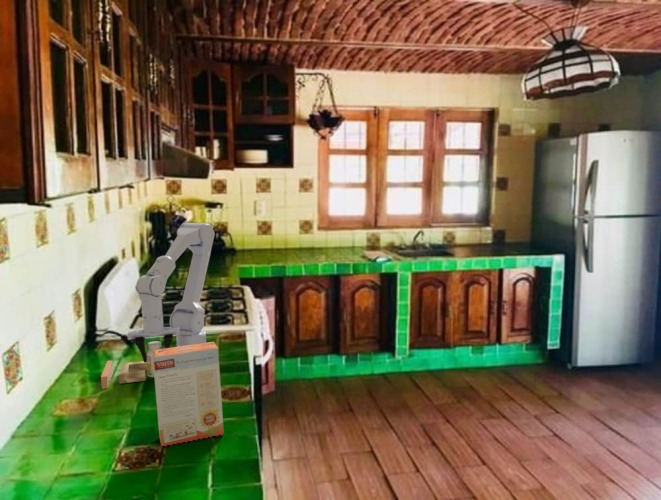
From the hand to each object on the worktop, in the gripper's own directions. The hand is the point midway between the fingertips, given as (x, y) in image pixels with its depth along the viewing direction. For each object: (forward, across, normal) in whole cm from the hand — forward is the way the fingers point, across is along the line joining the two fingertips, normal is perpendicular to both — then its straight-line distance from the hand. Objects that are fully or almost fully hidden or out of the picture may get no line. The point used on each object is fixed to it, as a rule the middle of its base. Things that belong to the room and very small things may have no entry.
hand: (155, 360), depth 170 cm
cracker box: (+5, +10, -44) cm, 45 cm away
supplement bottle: (+5, 0, 0) cm, 5 cm away
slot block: (+4, -6, 0) cm, 8 cm away
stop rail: (+4, -14, 0) cm, 14 cm away
